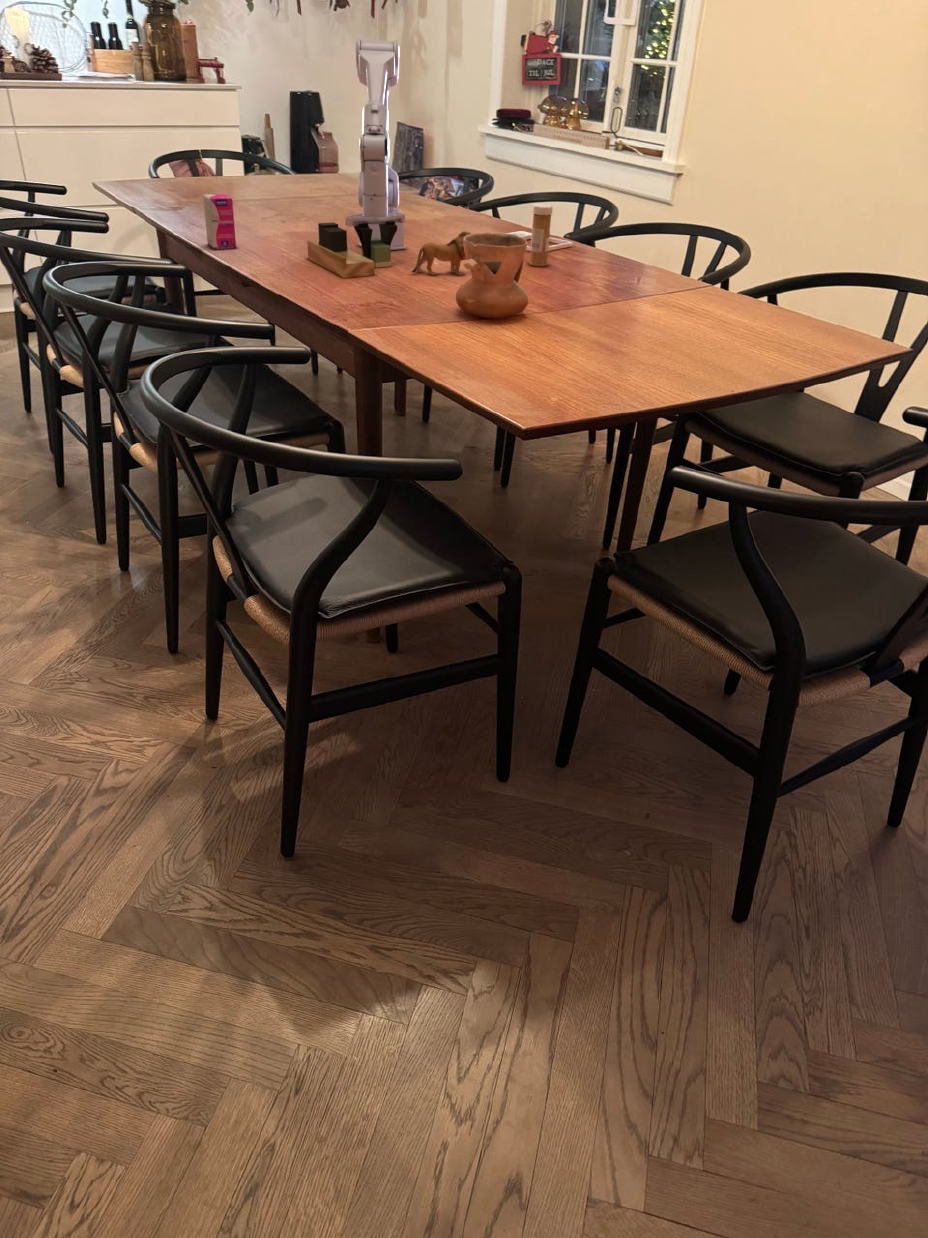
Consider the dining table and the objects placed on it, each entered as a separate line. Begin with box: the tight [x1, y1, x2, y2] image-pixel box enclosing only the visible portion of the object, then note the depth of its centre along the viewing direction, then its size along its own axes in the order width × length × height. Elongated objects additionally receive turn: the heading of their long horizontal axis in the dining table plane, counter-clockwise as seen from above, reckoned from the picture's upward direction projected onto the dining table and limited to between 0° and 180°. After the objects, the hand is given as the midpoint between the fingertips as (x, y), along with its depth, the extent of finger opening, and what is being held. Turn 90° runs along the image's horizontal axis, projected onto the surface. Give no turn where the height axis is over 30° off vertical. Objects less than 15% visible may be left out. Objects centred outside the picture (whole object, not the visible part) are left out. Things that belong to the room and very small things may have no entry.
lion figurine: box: [411, 230, 472, 276], centre depth 201 cm, size 15×5×9 cm, turn 110°
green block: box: [361, 238, 392, 269], centre depth 208 cm, size 4×8×5 cm, turn 32°
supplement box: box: [202, 193, 237, 250], centre depth 214 cm, size 6×6×12 cm
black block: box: [317, 221, 348, 252], centre depth 206 cm, size 4×8×5 cm, turn 32°
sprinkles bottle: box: [529, 203, 554, 267], centre depth 212 cm, size 5×5×14 cm
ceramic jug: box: [455, 232, 529, 319], centre depth 174 cm, size 18×14×14 cm
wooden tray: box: [306, 239, 375, 279], centre depth 204 cm, size 8×20×4 cm, turn 32°
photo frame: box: [505, 230, 574, 252], centre depth 235 cm, size 15×1×18 cm
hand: (376, 257), depth 209 cm, fingers closed on green block, 4 cm apart
